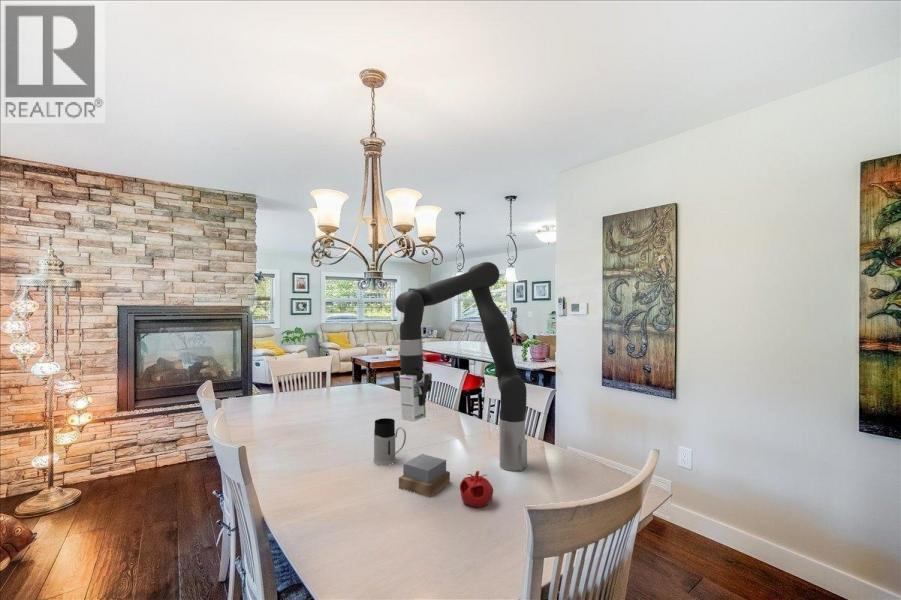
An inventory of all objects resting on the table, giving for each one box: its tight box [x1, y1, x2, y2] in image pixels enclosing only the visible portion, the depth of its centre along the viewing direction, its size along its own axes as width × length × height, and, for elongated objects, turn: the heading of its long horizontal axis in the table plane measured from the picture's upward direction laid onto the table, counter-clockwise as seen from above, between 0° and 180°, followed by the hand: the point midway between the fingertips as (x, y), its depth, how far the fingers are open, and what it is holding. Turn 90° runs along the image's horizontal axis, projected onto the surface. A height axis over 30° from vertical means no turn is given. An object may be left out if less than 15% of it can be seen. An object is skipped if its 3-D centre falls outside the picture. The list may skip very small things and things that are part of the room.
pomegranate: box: [459, 470, 494, 508], centre depth 120 cm, size 10×10×9 cm
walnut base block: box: [398, 470, 451, 498], centre depth 131 cm, size 12×12×4 cm
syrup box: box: [399, 375, 427, 423], centre depth 131 cm, size 6×6×14 cm
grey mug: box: [372, 417, 407, 466], centre depth 150 cm, size 9×14×15 cm, turn 59°
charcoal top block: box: [402, 453, 447, 484], centre depth 131 cm, size 10×10×4 cm
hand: (413, 404), depth 131 cm, fingers closed on syrup box, 6 cm apart
